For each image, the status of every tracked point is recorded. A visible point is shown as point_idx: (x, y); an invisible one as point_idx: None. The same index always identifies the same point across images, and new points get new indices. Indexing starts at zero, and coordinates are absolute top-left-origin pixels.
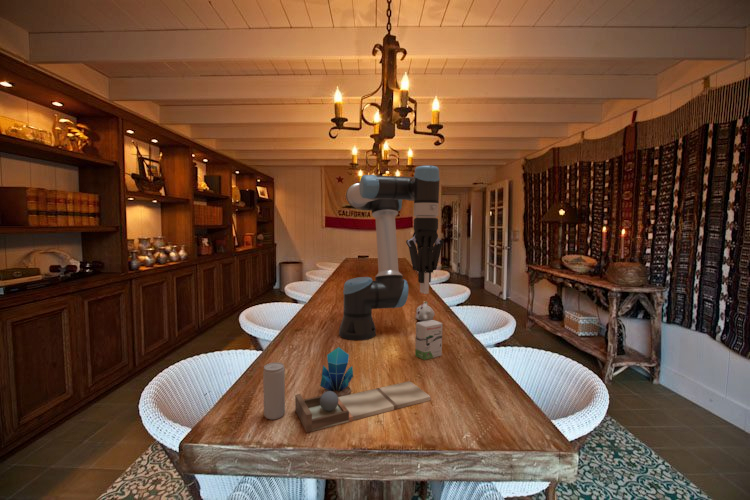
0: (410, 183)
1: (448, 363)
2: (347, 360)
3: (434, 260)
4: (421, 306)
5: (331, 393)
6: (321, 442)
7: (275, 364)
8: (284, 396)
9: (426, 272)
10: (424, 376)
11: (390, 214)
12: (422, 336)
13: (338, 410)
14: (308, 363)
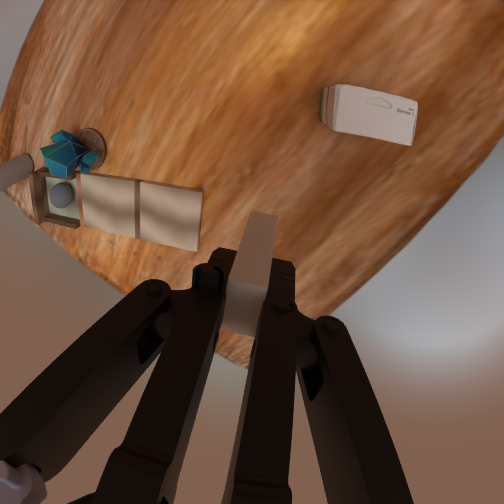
0: None
1: (351, 171)
2: (65, 175)
3: (312, 415)
4: None
5: (55, 204)
6: (57, 236)
7: None
8: (18, 177)
9: (251, 318)
10: (253, 182)
11: None
12: (328, 117)
13: (76, 198)
14: (96, 17)
